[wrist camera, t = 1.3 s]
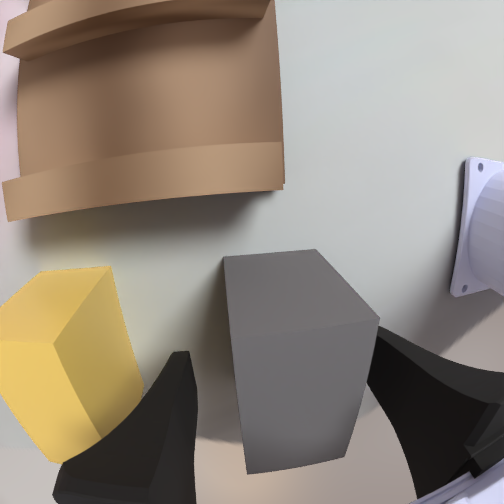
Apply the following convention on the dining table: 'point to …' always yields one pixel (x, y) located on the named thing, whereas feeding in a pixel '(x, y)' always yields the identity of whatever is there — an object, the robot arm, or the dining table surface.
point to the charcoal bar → (296, 357)
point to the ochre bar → (67, 360)
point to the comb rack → (143, 102)
